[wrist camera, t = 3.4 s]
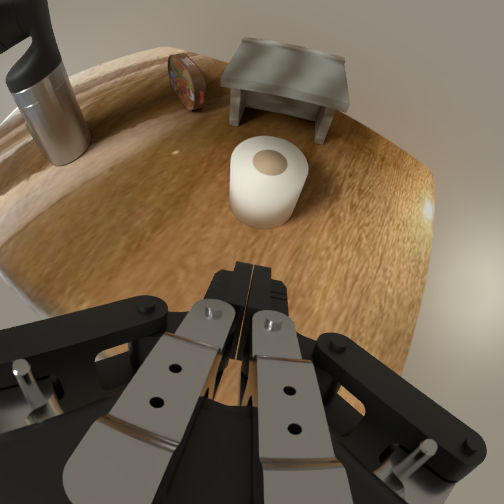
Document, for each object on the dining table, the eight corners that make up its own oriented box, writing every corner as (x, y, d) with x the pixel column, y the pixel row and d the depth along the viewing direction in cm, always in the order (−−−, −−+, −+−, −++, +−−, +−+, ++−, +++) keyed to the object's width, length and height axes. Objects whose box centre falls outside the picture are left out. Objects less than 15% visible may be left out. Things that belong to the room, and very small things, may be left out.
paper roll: (222, 221, 37) (222, 184, 30) (237, 169, 41) (240, 129, 33) (290, 235, 37) (305, 201, 30) (297, 182, 41) (310, 144, 33)
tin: (168, 82, 49) (164, 49, 41) (182, 78, 50) (179, 45, 42) (193, 120, 44) (191, 81, 37) (210, 114, 45) (209, 76, 38)
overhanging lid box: (220, 149, 42) (220, 73, 29) (238, 101, 47) (244, 36, 35) (321, 170, 42) (350, 101, 29) (323, 118, 47) (344, 58, 35)
